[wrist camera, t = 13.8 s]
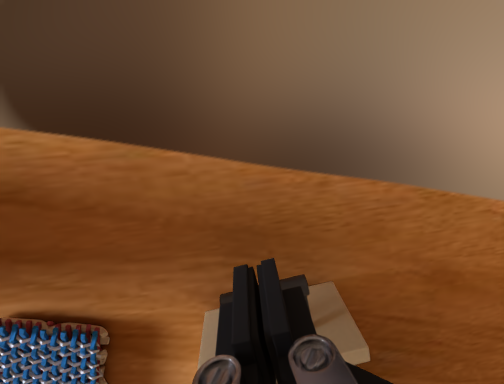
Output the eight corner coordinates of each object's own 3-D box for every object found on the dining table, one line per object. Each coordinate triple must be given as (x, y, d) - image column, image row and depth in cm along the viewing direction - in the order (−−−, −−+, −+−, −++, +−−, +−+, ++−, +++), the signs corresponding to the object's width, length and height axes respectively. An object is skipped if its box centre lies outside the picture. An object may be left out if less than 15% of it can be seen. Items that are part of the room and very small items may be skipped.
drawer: (190, 269, 25) (173, 336, 18) (324, 236, 24) (360, 291, 17) (242, 418, 30) (245, 515, 23) (352, 392, 30) (389, 481, 23)
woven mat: (-4, 400, 28) (-21, 422, 27) (-14, 308, 25) (-34, 325, 24) (109, 407, 30) (100, 428, 28) (112, 319, 27) (102, 336, 25)
